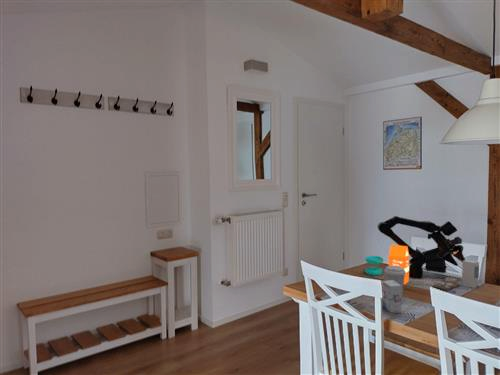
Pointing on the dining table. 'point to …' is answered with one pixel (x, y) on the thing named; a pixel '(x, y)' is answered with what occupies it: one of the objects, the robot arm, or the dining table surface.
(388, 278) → the grey canister
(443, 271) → the black slab
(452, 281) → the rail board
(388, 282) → the ink box
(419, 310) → the dining table surface
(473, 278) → the module
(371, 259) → the donuts
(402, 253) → the orange juice
